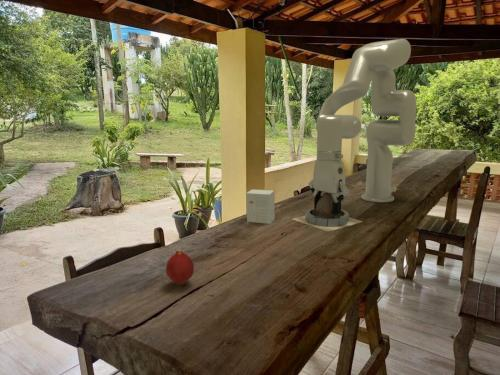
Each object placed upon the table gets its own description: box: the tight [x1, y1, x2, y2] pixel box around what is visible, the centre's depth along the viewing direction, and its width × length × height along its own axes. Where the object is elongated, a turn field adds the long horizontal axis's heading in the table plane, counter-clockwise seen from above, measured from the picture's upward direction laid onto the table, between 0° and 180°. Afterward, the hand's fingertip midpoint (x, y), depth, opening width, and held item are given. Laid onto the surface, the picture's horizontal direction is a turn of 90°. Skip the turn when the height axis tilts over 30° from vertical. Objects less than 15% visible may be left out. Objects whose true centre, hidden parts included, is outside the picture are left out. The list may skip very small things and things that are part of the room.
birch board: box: [292, 215, 363, 233], centre depth 116 cm, size 16×16×1 cm
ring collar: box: [304, 207, 350, 227], centre depth 116 cm, size 13×13×2 cm
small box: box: [245, 189, 276, 225], centre depth 116 cm, size 8×6×10 cm
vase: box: [316, 192, 337, 218], centre depth 115 cm, size 7×7×9 cm
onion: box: [165, 249, 195, 286], centre depth 75 cm, size 6×6×8 cm
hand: (327, 210), depth 115 cm, fingers open, 7 cm apart
